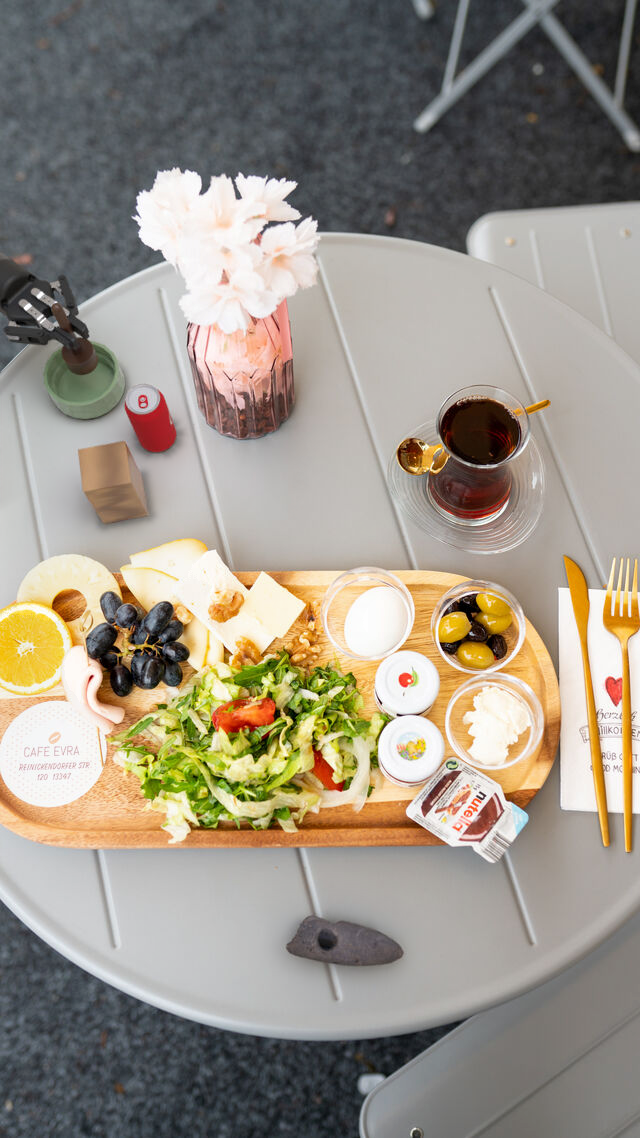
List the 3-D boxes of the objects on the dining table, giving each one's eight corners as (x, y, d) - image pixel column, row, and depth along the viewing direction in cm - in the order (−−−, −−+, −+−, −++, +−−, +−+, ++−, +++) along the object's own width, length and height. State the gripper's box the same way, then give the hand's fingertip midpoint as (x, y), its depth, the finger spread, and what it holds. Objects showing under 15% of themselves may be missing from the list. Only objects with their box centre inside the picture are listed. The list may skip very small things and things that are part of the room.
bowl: (56, 427, 135) (47, 411, 130) (49, 365, 139) (39, 347, 134) (130, 413, 136) (123, 397, 131) (121, 352, 140) (113, 334, 135)
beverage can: (175, 418, 136) (161, 377, 124) (179, 451, 133) (165, 412, 122) (137, 424, 135) (120, 383, 124) (140, 457, 133) (123, 419, 122)
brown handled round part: (68, 377, 130) (39, 322, 116) (65, 351, 131) (36, 293, 118) (100, 372, 130) (74, 316, 117) (96, 345, 132) (70, 287, 118)
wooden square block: (104, 524, 129) (82, 491, 118) (98, 484, 132) (77, 449, 120) (148, 515, 130) (131, 482, 118) (142, 476, 132) (125, 440, 121)
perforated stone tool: (404, 931, 109) (409, 935, 102) (398, 974, 107) (403, 981, 101) (293, 909, 110) (291, 911, 103) (286, 951, 108) (283, 957, 102)
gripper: (38, 268, 131) (119, 324, 127) (-24, 325, 127) (57, 385, 124) (22, 234, 124) (107, 293, 120) (-44, 294, 120) (41, 356, 117)
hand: (81, 339), depth 122 cm, fingers closed on brown handled round part
